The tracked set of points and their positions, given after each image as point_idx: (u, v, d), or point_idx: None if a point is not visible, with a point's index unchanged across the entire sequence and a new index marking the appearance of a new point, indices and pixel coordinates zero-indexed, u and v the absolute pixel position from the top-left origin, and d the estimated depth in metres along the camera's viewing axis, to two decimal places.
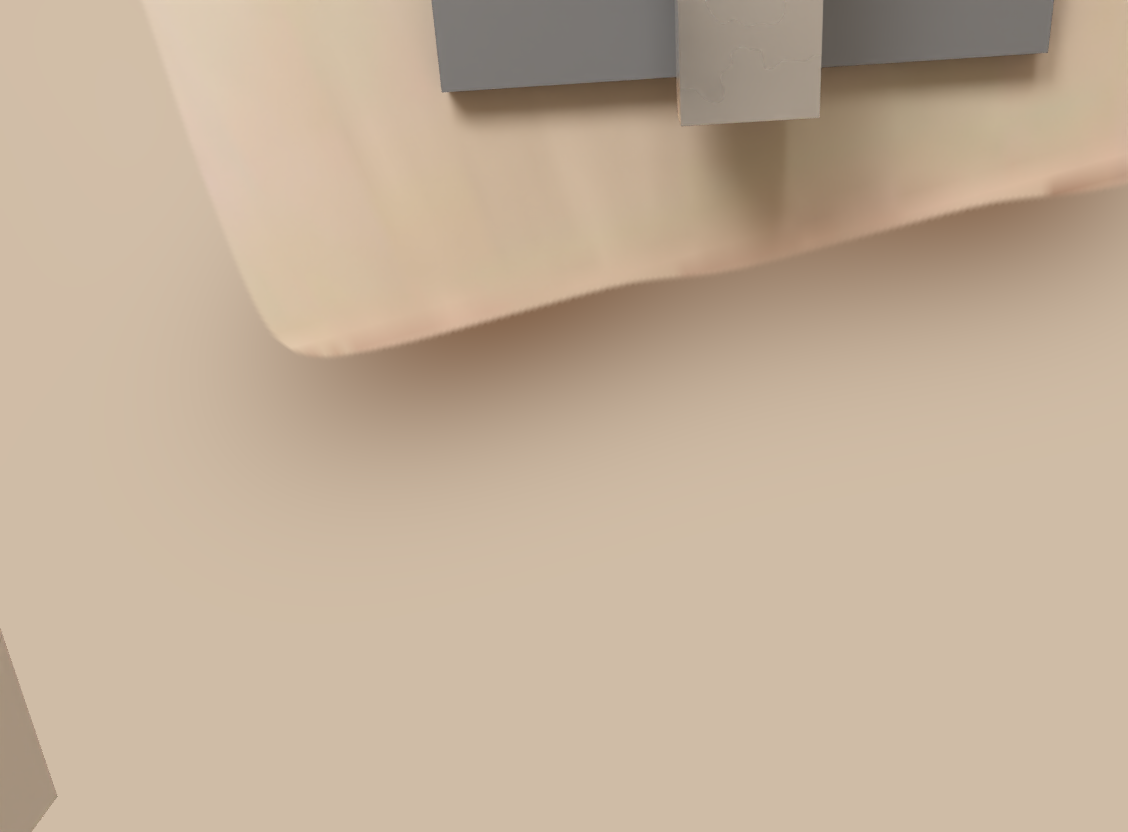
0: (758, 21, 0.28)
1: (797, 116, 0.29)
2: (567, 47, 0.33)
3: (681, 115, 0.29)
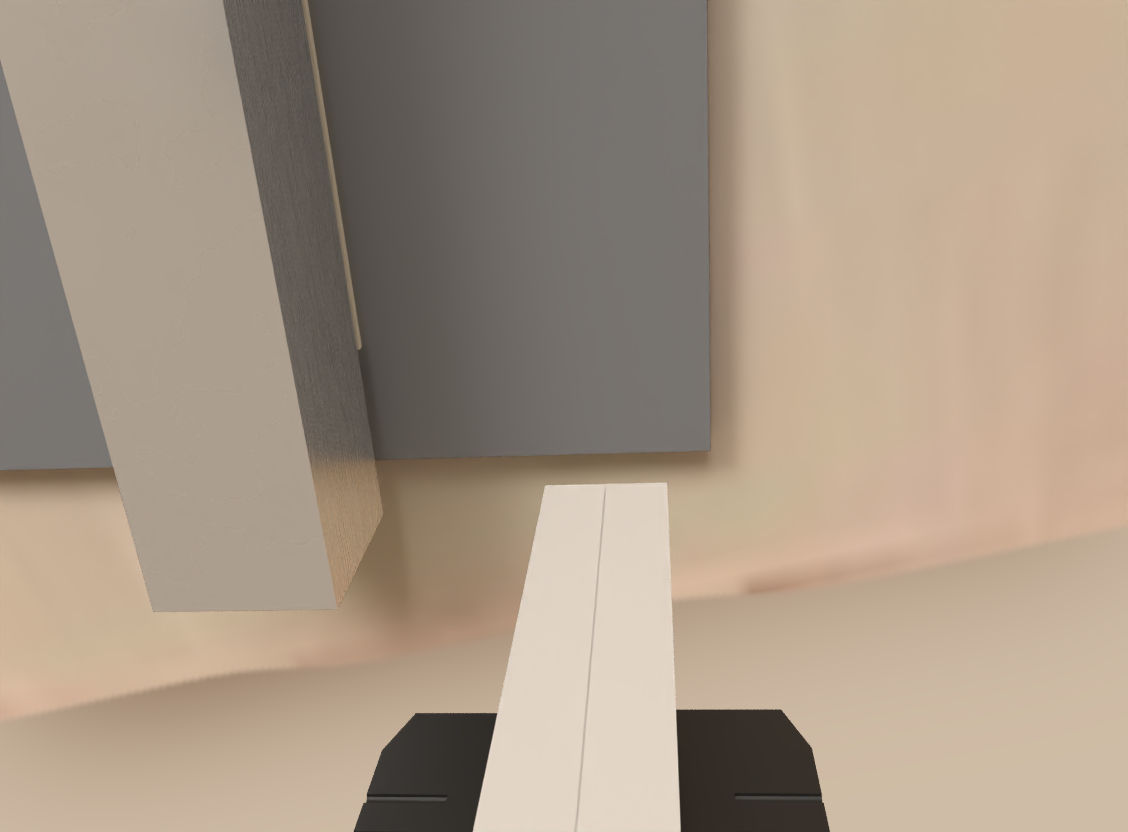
0: (228, 495, 0.20)
1: (307, 606, 0.21)
2: (87, 426, 0.25)
3: (150, 600, 0.21)
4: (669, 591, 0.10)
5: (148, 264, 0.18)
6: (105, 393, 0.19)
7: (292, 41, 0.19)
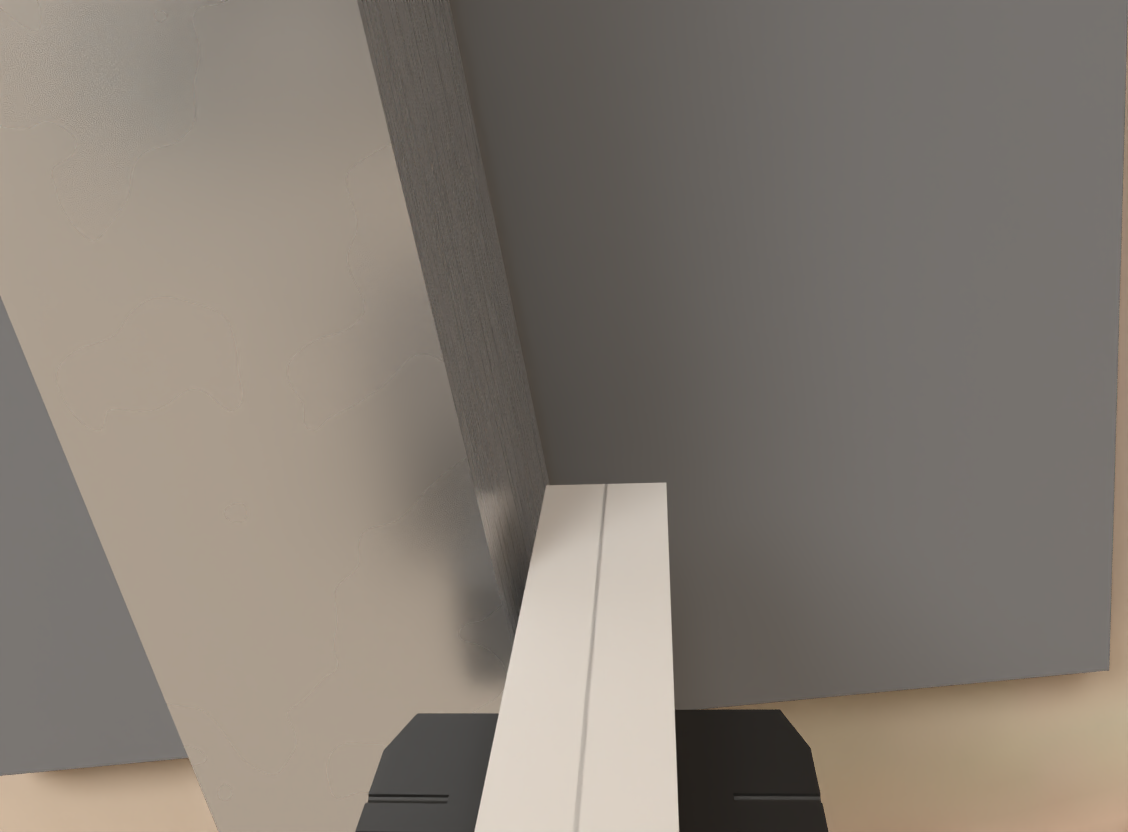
0: None
1: None
2: None
3: None
4: (668, 591, 0.10)
5: (270, 561, 0.10)
6: (211, 760, 0.11)
7: (462, 140, 0.11)
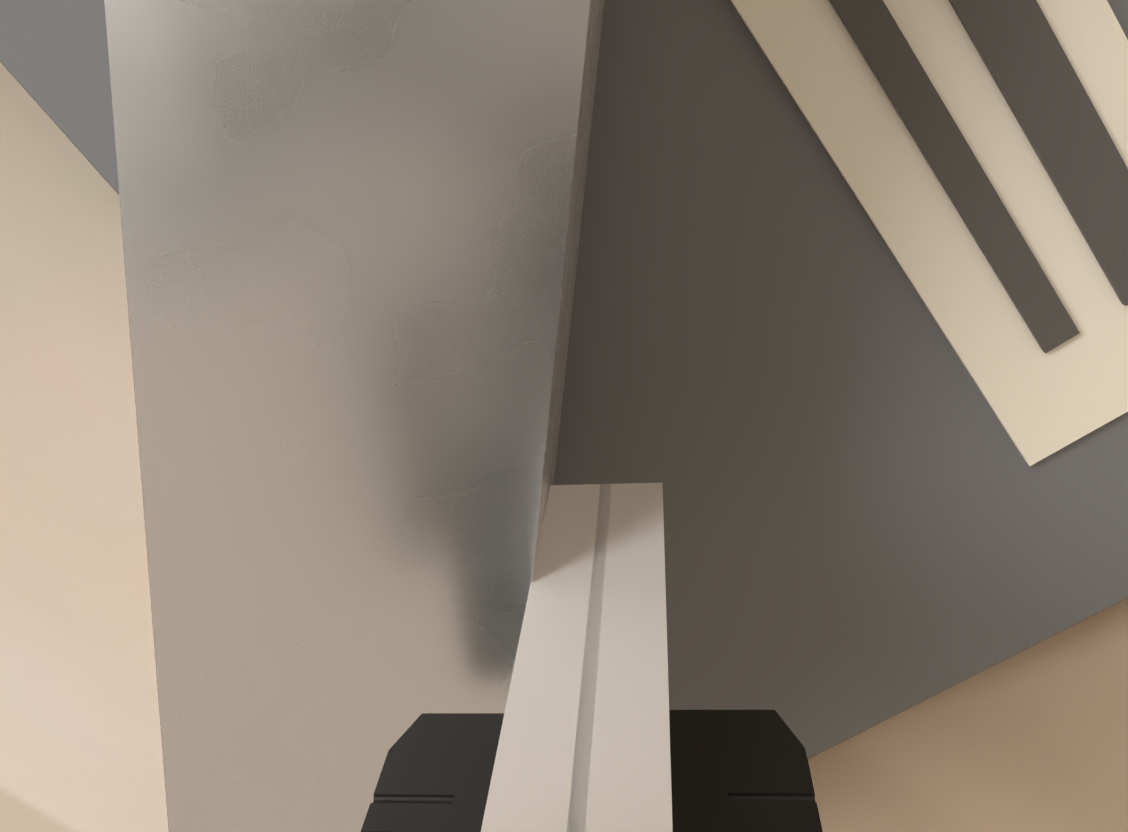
0: None
1: None
2: (862, 664, 0.16)
3: None
4: (664, 591, 0.10)
5: (311, 504, 0.10)
6: (179, 684, 0.11)
7: (588, 135, 0.11)
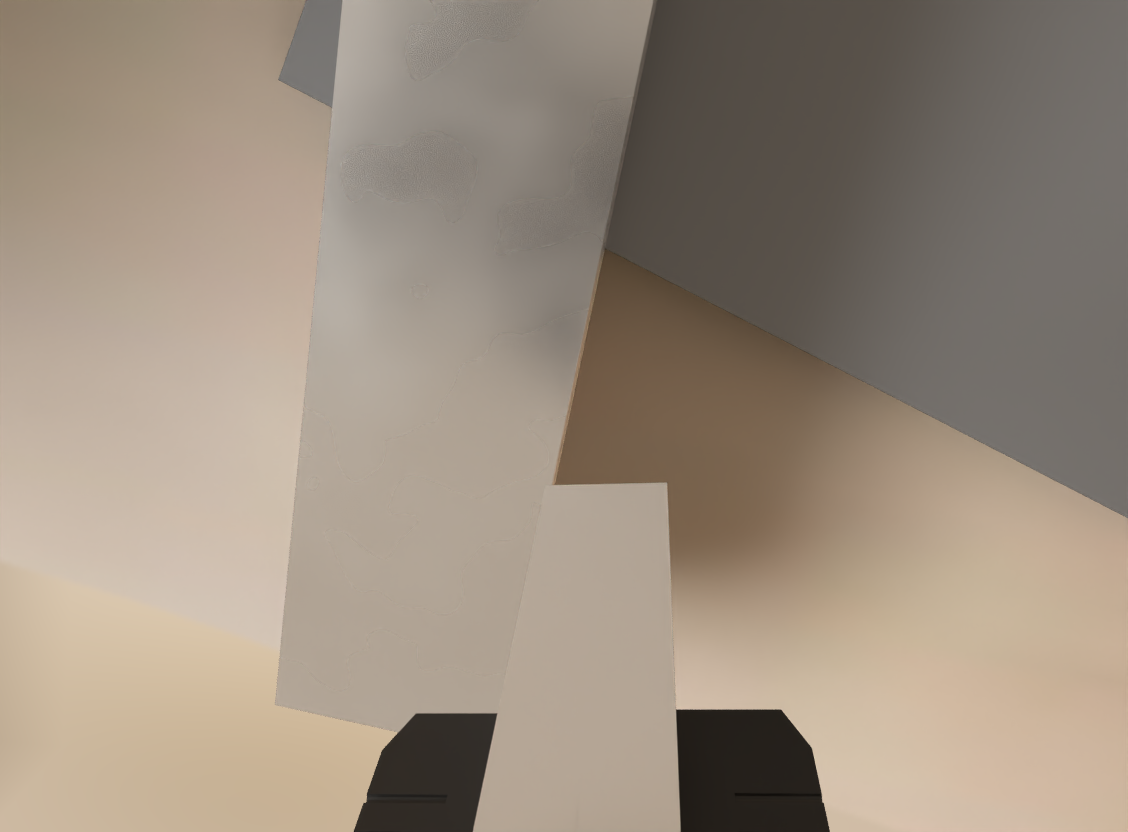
0: (417, 604, 0.16)
1: None
2: None
3: (277, 691, 0.17)
4: (669, 591, 0.10)
5: (427, 331, 0.15)
6: (314, 457, 0.16)
7: (634, 106, 0.16)
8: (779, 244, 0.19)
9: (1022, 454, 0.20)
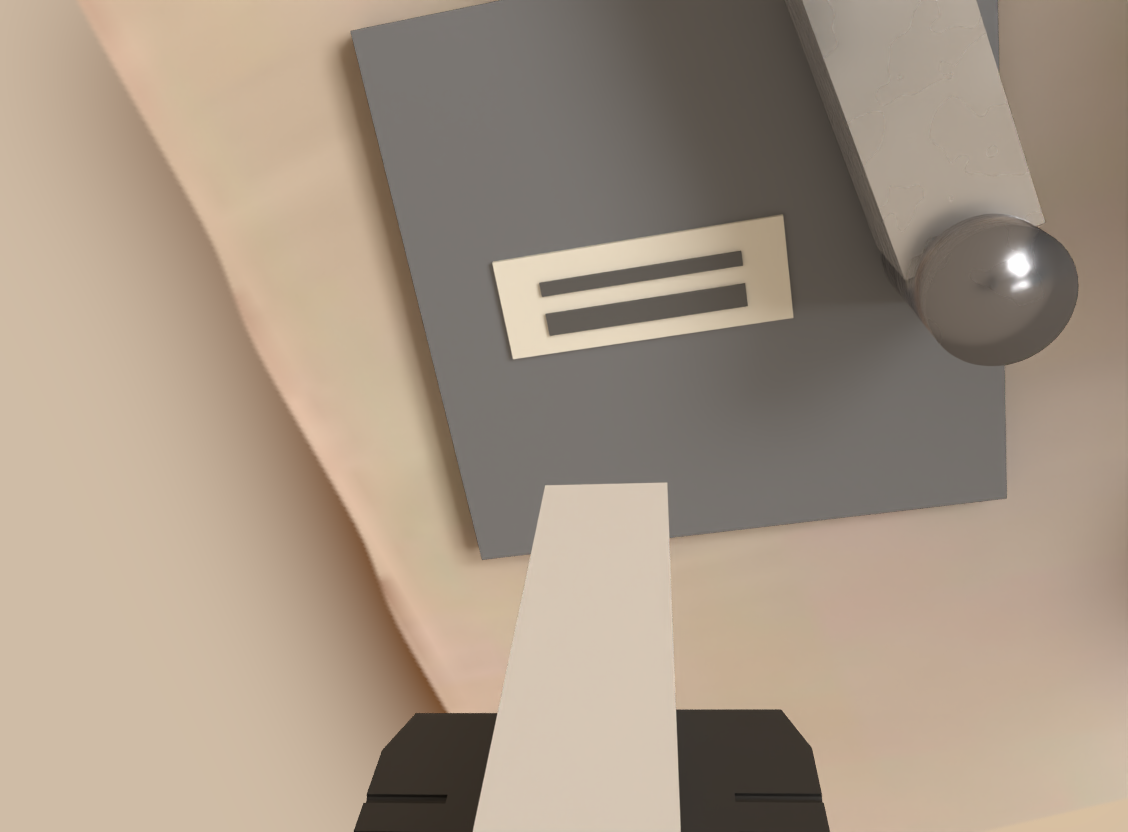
0: None
1: None
2: (417, 162, 0.34)
3: None
4: (669, 591, 0.10)
5: None
6: None
7: (803, 40, 0.29)
8: (674, 20, 0.31)
9: (468, 12, 0.32)
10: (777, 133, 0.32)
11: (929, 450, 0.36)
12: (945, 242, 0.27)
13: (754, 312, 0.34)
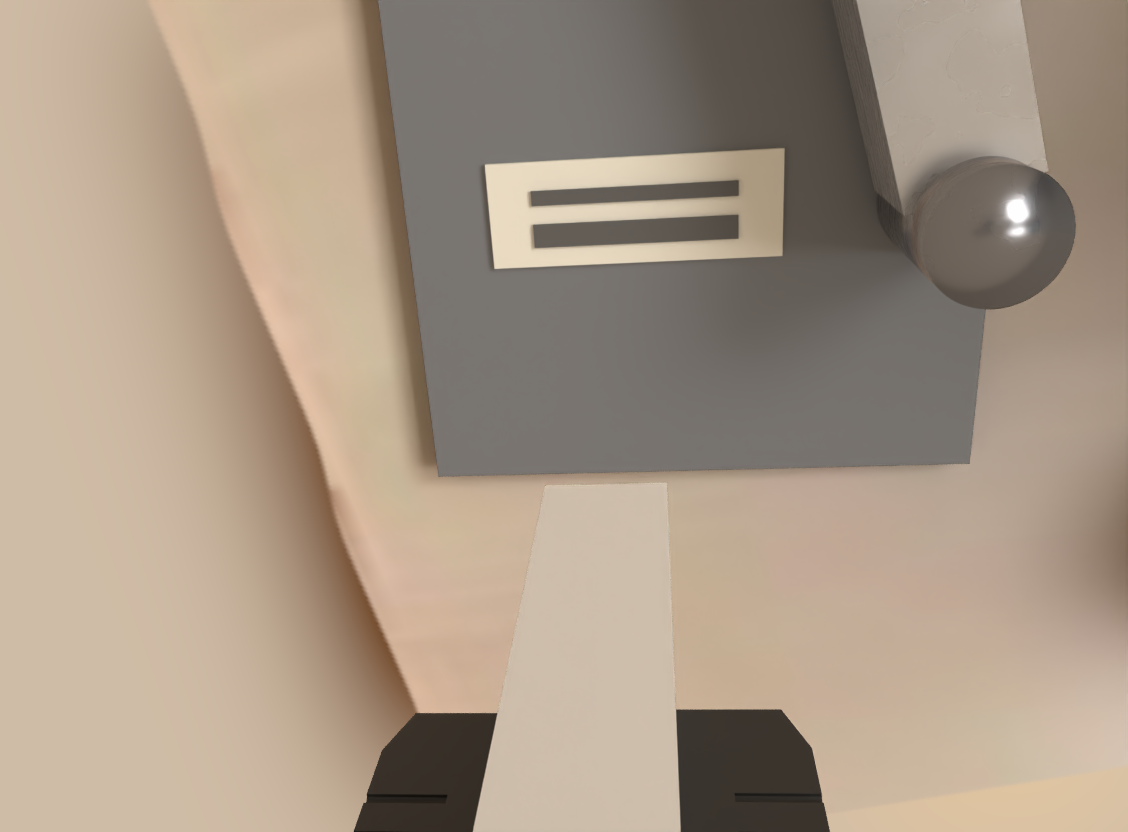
0: None
1: None
2: (419, 49, 0.33)
3: None
4: (670, 591, 0.10)
5: None
6: None
7: None
8: None
9: None
10: (788, 63, 0.32)
11: (900, 407, 0.36)
12: (949, 177, 0.27)
13: (743, 246, 0.34)
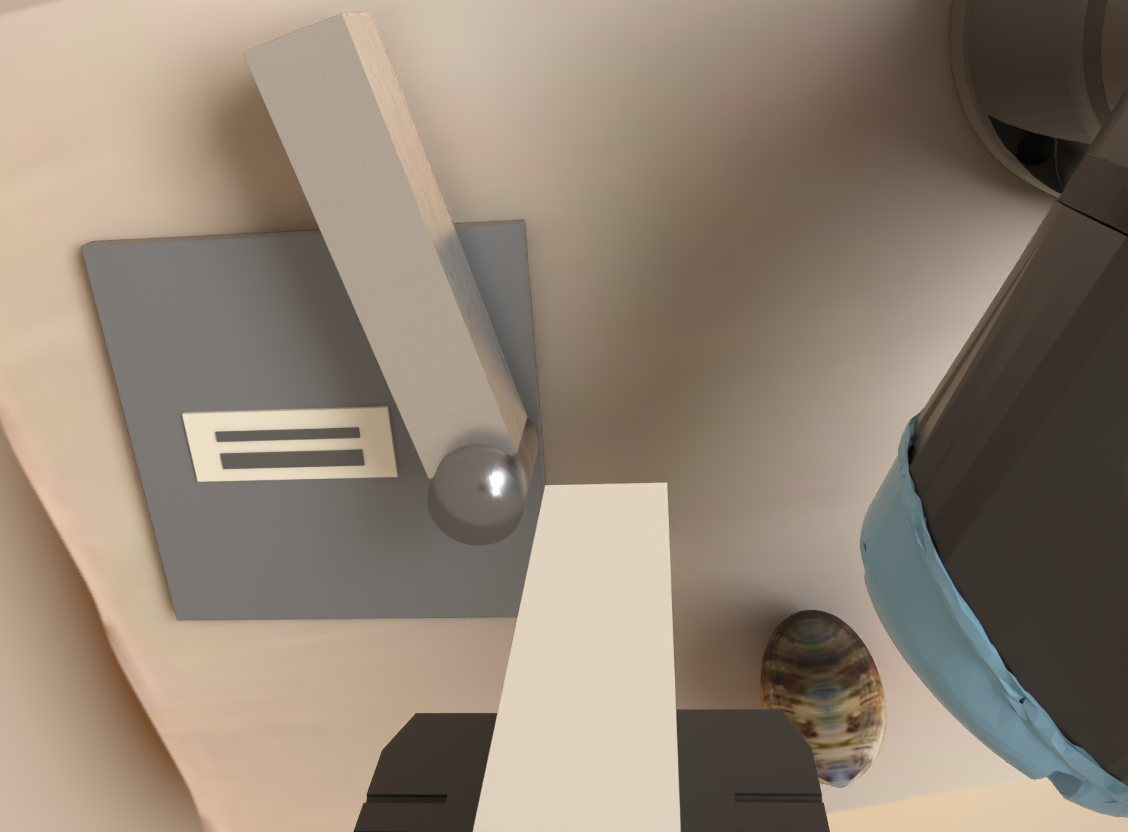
0: (317, 110, 0.36)
1: (258, 48, 0.36)
2: (128, 338, 0.46)
3: (344, 22, 0.35)
4: (669, 591, 0.10)
5: (380, 227, 0.38)
6: (390, 152, 0.37)
7: None
8: (309, 270, 0.44)
9: (165, 246, 0.44)
10: None
11: (498, 577, 0.50)
12: (445, 461, 0.41)
13: (369, 470, 0.48)
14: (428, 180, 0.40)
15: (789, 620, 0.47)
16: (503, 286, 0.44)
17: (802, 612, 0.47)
